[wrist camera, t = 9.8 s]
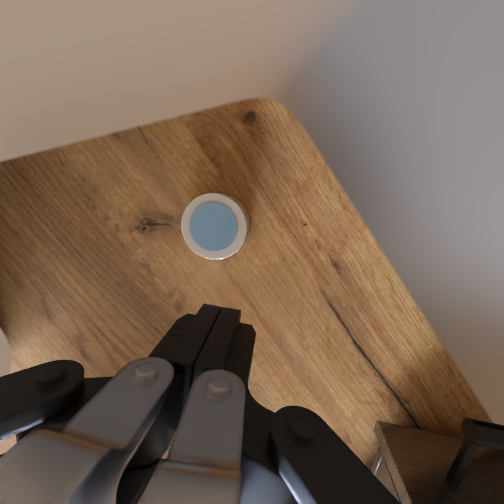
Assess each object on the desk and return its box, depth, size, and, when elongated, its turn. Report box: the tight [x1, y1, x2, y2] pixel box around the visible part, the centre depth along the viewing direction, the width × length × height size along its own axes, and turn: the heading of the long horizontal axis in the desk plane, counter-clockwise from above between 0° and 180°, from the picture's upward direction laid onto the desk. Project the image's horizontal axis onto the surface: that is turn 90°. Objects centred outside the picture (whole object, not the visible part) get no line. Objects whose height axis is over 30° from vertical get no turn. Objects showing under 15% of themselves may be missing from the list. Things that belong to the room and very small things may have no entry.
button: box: [181, 192, 250, 260], centre depth 21 cm, size 5×5×2 cm
